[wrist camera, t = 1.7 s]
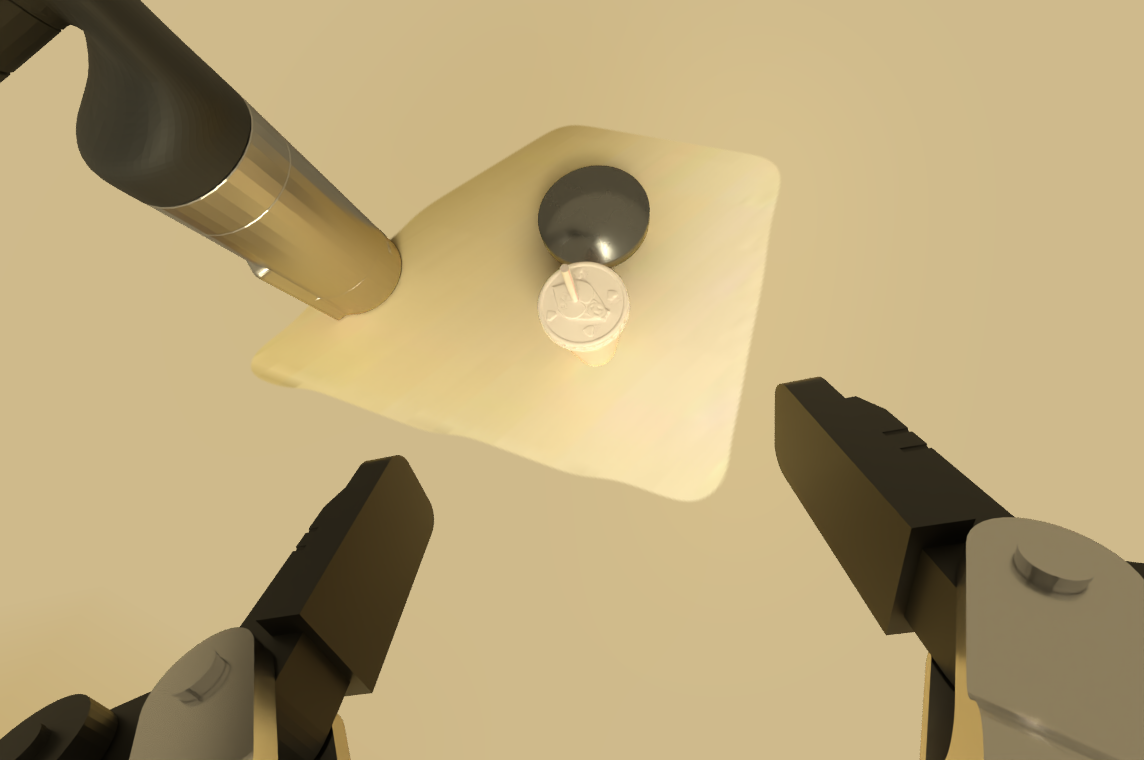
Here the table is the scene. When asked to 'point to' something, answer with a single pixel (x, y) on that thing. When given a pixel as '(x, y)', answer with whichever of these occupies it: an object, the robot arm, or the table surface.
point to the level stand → (594, 216)
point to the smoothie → (585, 310)
